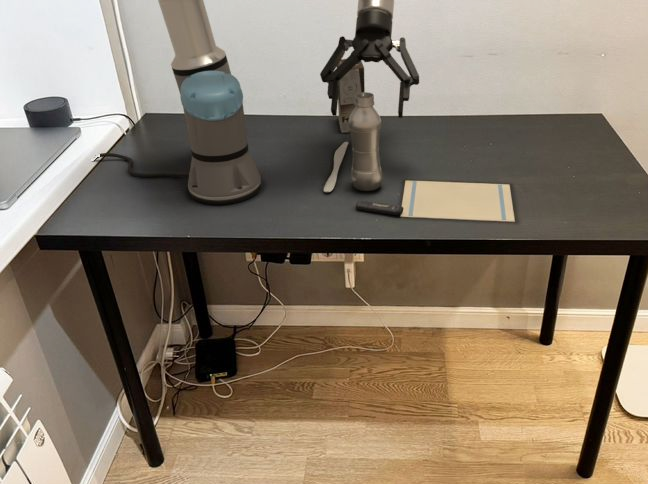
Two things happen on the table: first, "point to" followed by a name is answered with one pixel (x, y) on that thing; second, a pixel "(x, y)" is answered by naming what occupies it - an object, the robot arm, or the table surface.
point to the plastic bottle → (365, 143)
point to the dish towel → (457, 201)
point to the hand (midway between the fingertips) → (366, 114)
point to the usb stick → (379, 207)
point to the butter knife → (335, 167)
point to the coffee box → (349, 93)
